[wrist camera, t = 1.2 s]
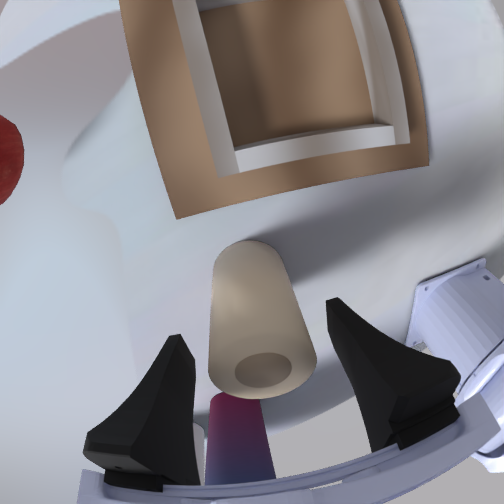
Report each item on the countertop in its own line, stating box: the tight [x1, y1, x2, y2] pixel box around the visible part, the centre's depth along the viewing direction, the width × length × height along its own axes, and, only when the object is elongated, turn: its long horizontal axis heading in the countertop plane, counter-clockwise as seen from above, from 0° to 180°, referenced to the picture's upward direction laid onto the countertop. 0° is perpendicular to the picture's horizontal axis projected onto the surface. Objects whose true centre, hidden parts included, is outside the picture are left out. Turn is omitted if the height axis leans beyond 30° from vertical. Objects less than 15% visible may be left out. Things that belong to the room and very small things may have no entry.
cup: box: [205, 392, 276, 501], centre depth 18 cm, size 7×7×15 cm
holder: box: [119, 0, 429, 220], centre depth 11 cm, size 16×14×3 cm
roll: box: [208, 240, 317, 399], centre depth 14 cm, size 5×5×8 cm
